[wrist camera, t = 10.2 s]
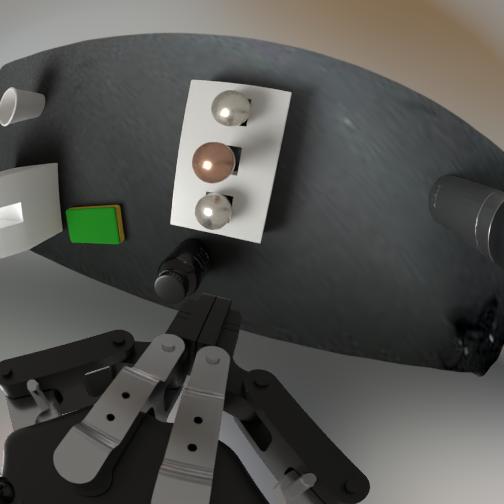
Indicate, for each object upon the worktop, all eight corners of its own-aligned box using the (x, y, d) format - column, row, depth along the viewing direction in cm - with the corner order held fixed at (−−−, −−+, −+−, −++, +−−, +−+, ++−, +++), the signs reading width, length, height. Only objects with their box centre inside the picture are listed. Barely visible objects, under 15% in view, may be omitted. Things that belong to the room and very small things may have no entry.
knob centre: (244, 145, 33) (236, 145, 28) (237, 180, 35) (229, 186, 30) (208, 139, 33) (195, 139, 28) (203, 174, 35) (189, 179, 30)
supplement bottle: (184, 277, 49) (158, 313, 38) (170, 243, 47) (139, 273, 36) (218, 269, 48) (198, 306, 37) (204, 233, 46) (179, 263, 35)
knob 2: (239, 191, 40) (232, 198, 35) (234, 221, 41) (226, 233, 36) (208, 185, 40) (197, 192, 35) (204, 215, 42) (193, 225, 37)
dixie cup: (47, 118, 40) (14, 121, 31) (28, 126, 41) (-3, 129, 32) (50, 84, 37) (18, 82, 27) (30, 93, 37) (0, 94, 28)
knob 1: (257, 99, 34) (252, 92, 29) (250, 130, 36) (245, 128, 31) (224, 95, 34) (214, 88, 29) (218, 125, 36) (208, 123, 31)
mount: (290, 98, 36) (291, 92, 31) (263, 232, 44) (260, 243, 40) (202, 86, 36) (191, 79, 32) (181, 215, 45) (170, 224, 40)
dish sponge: (72, 207, 48) (64, 210, 45) (121, 204, 46) (114, 207, 44) (77, 238, 50) (70, 242, 48) (126, 240, 49) (119, 244, 46)
